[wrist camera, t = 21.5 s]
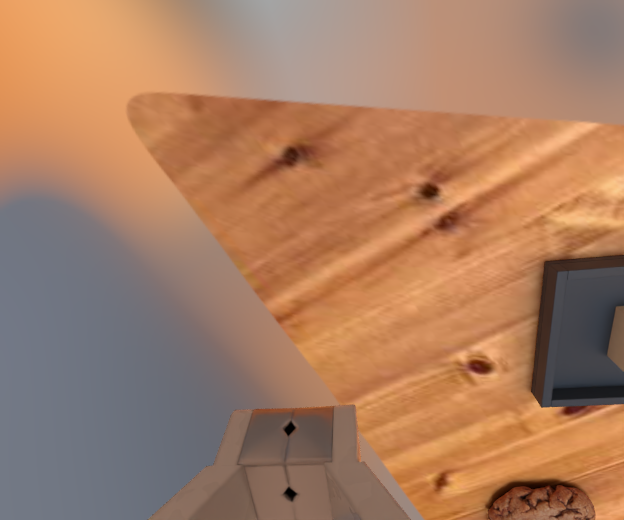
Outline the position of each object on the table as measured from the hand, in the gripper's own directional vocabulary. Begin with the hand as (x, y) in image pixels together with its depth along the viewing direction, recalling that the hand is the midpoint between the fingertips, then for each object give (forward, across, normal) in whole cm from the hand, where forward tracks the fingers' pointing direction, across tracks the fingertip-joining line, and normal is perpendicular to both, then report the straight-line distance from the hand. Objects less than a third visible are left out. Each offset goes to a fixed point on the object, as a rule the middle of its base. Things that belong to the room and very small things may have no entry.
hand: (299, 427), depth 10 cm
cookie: (+24, -19, +37) cm, 48 cm away
